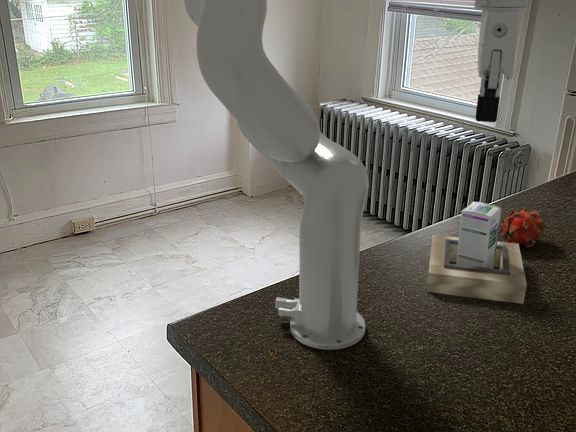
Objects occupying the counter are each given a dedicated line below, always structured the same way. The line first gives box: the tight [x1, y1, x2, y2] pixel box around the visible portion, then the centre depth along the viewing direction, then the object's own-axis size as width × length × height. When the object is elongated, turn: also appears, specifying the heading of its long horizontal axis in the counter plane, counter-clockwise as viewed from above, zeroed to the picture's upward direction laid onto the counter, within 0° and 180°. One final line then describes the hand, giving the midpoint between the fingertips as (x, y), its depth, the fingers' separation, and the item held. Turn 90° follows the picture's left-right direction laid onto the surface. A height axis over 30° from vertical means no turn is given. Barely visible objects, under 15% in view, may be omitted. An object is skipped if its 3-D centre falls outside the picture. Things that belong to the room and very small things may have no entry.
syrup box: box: [455, 201, 502, 269], centre depth 113 cm, size 6×6×14 cm
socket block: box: [426, 234, 528, 305], centre depth 115 cm, size 17×17×5 cm
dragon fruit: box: [499, 207, 547, 249], centre depth 128 cm, size 8×8×12 cm
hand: (485, 120), depth 96 cm, fingers closed
